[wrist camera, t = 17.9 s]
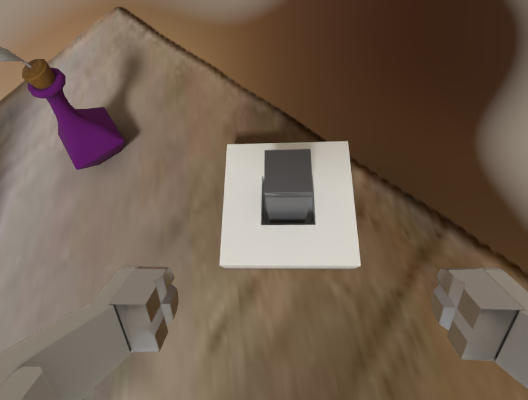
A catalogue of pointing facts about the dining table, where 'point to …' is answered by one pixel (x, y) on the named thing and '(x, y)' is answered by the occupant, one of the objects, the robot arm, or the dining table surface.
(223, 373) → the dining table surface
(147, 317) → the robot arm
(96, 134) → the perfume bottle
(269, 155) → the plug
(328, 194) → the socket block
